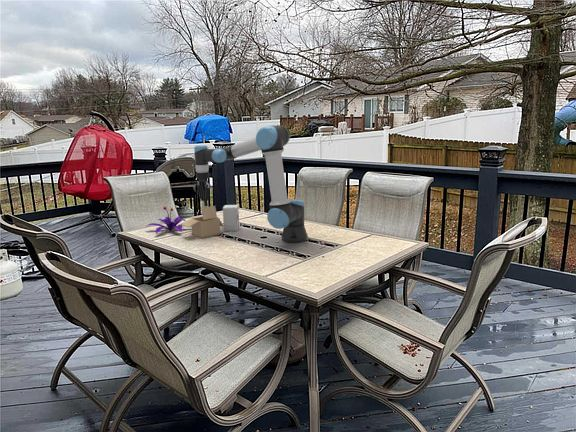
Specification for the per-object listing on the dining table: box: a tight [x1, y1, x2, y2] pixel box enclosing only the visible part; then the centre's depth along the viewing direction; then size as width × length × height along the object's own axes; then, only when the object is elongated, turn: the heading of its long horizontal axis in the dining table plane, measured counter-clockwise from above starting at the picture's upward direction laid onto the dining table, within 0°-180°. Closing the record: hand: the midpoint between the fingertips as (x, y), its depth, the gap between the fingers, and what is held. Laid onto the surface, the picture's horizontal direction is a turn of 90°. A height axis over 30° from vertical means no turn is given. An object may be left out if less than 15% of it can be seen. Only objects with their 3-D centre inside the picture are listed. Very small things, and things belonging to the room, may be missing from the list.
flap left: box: [181, 217, 199, 228], centre depth 248 cm, size 9×1×7 cm
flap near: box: [201, 205, 218, 220], centre depth 249 cm, size 1×9×7 cm, turn 130°
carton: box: [190, 215, 224, 239], centre depth 258 cm, size 16×16×10 cm
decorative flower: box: [145, 206, 187, 234], centre depth 266 cm, size 28×31×15 cm
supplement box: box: [222, 204, 240, 232], centre depth 266 cm, size 9×9×15 cm
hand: (205, 211), depth 253 cm, fingers closed
